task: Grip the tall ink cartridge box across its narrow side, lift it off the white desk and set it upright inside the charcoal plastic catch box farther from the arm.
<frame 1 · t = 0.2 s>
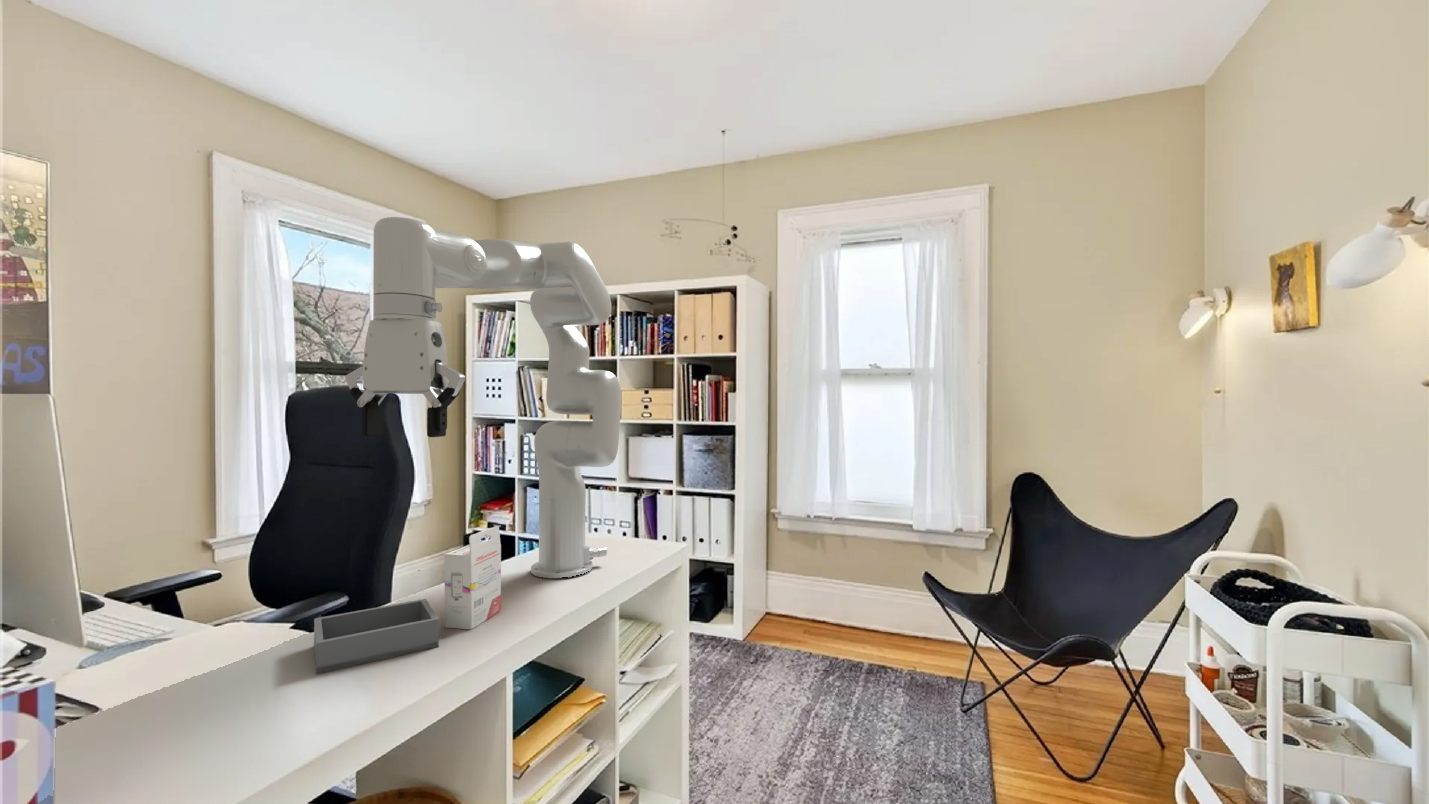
hand: (404, 436, 79), 31 cm above the table, tool pointing down, fingers open, 9 cm apart
catch box: (376, 646, 83), on the table
ink cartridge box: (473, 620, 94), on the table
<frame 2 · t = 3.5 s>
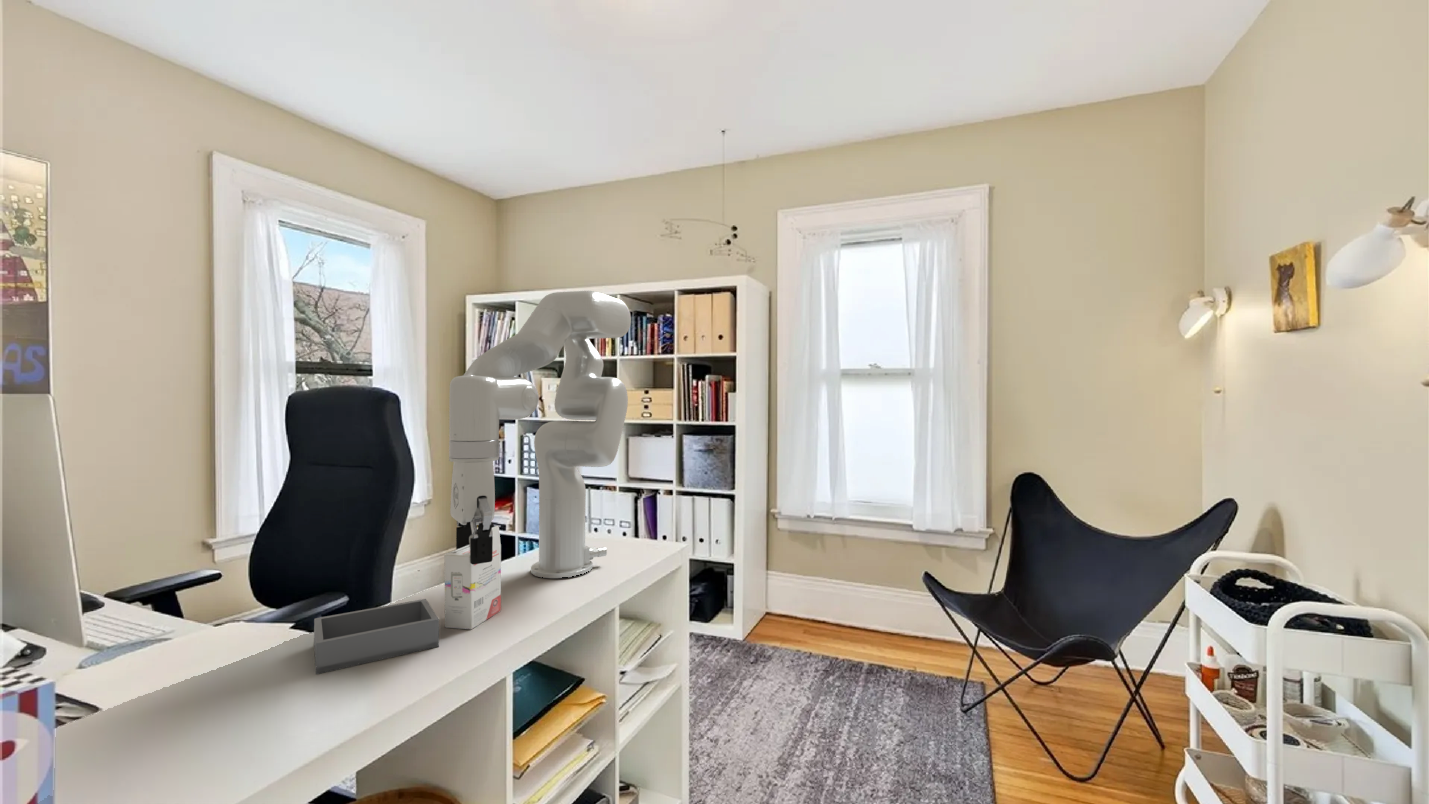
hand: (473, 556, 94), 10 cm above the table, tool pointing down, fingers open, 9 cm apart
ink cartridge box: (473, 620, 94), on the table, touching gripper
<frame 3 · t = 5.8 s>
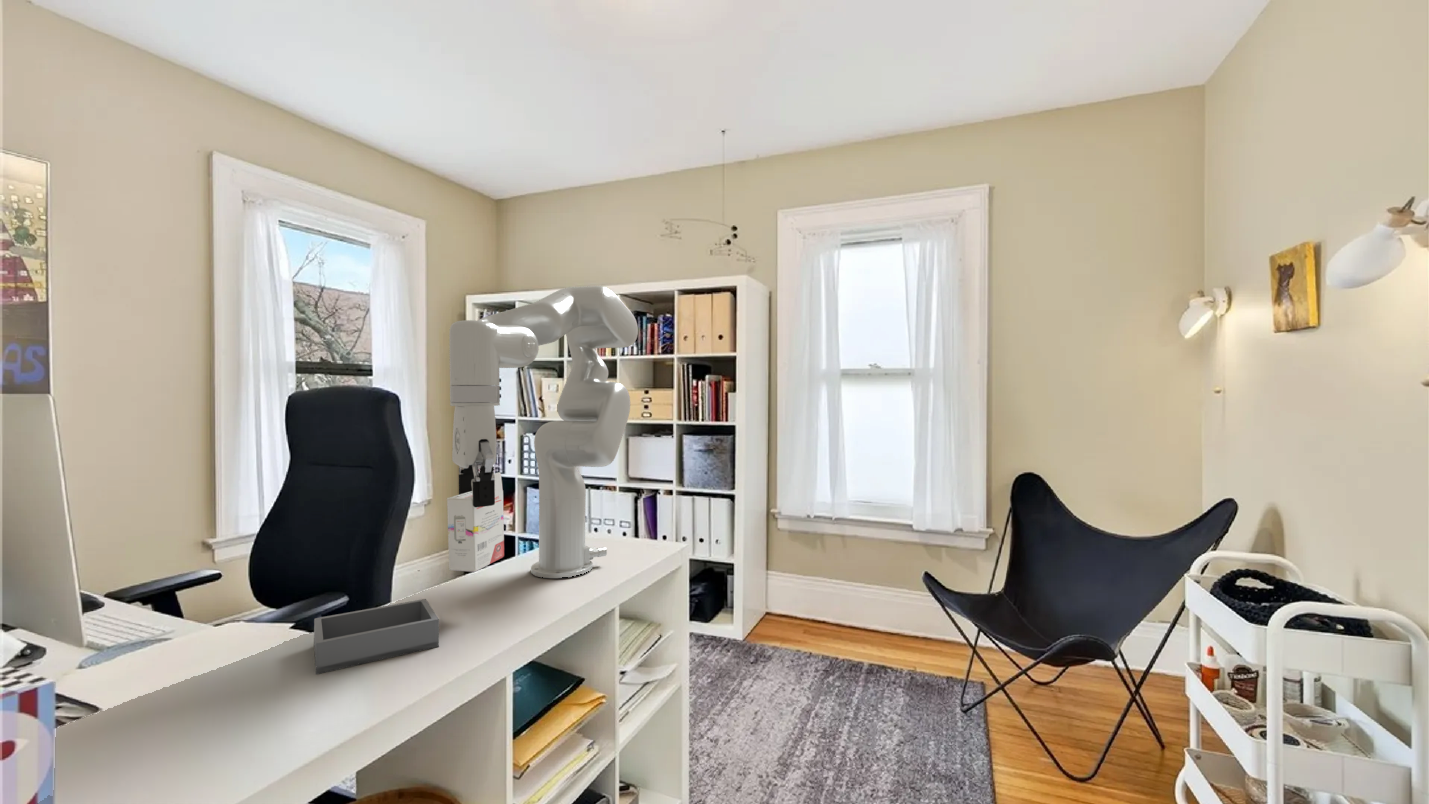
hand: (476, 501, 94), 19 cm above the table, tool pointing down, fingers closed on ink cartridge box, 9 cm apart
ink cartridge box: (477, 564, 94), point 9 cm above the table, touching gripper
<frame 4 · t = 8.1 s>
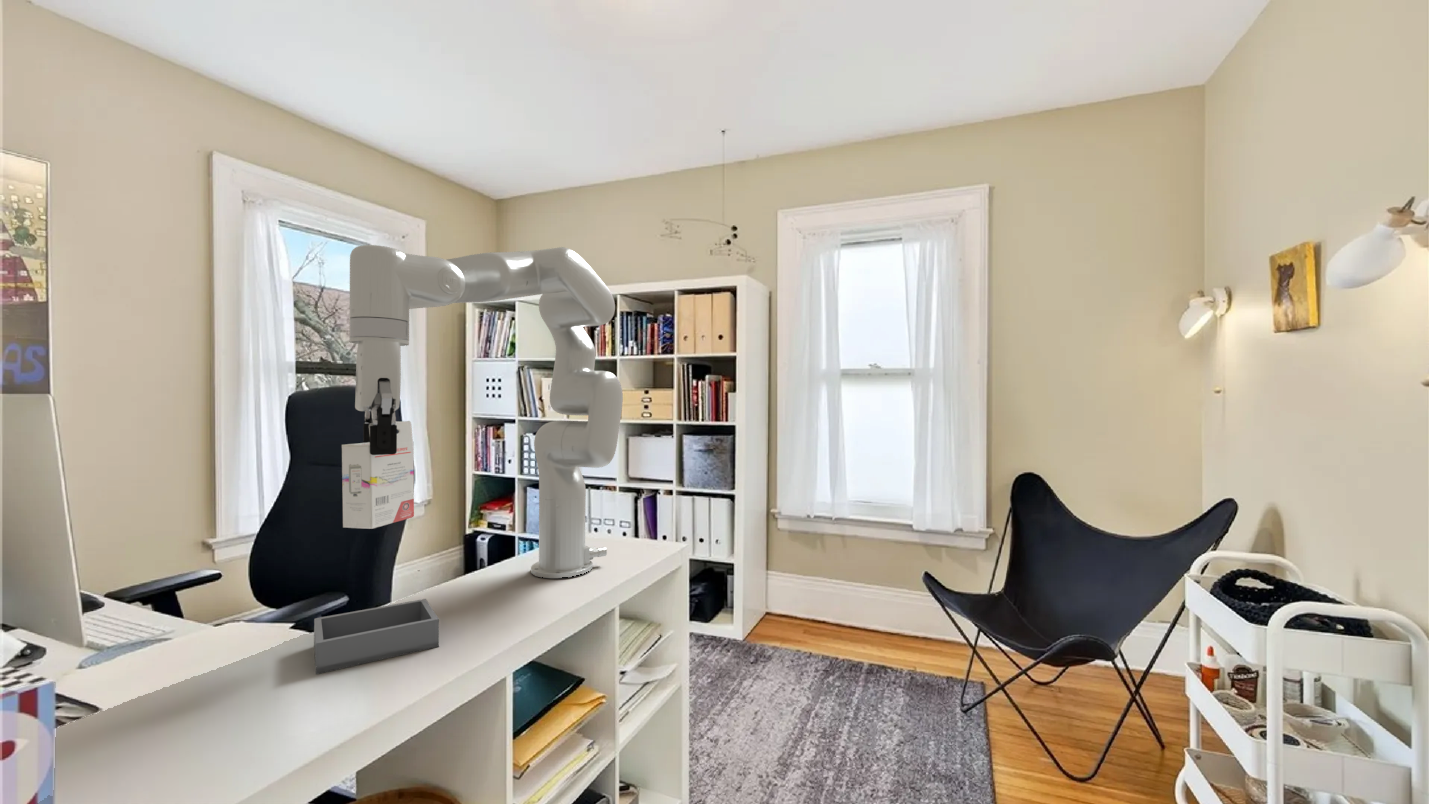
hand: (379, 451, 83), 28 cm above the table, tool pointing down, fingers closed on ink cartridge box, 9 cm apart
ink cartridge box: (379, 524, 83), point 18 cm above the table, touching gripper
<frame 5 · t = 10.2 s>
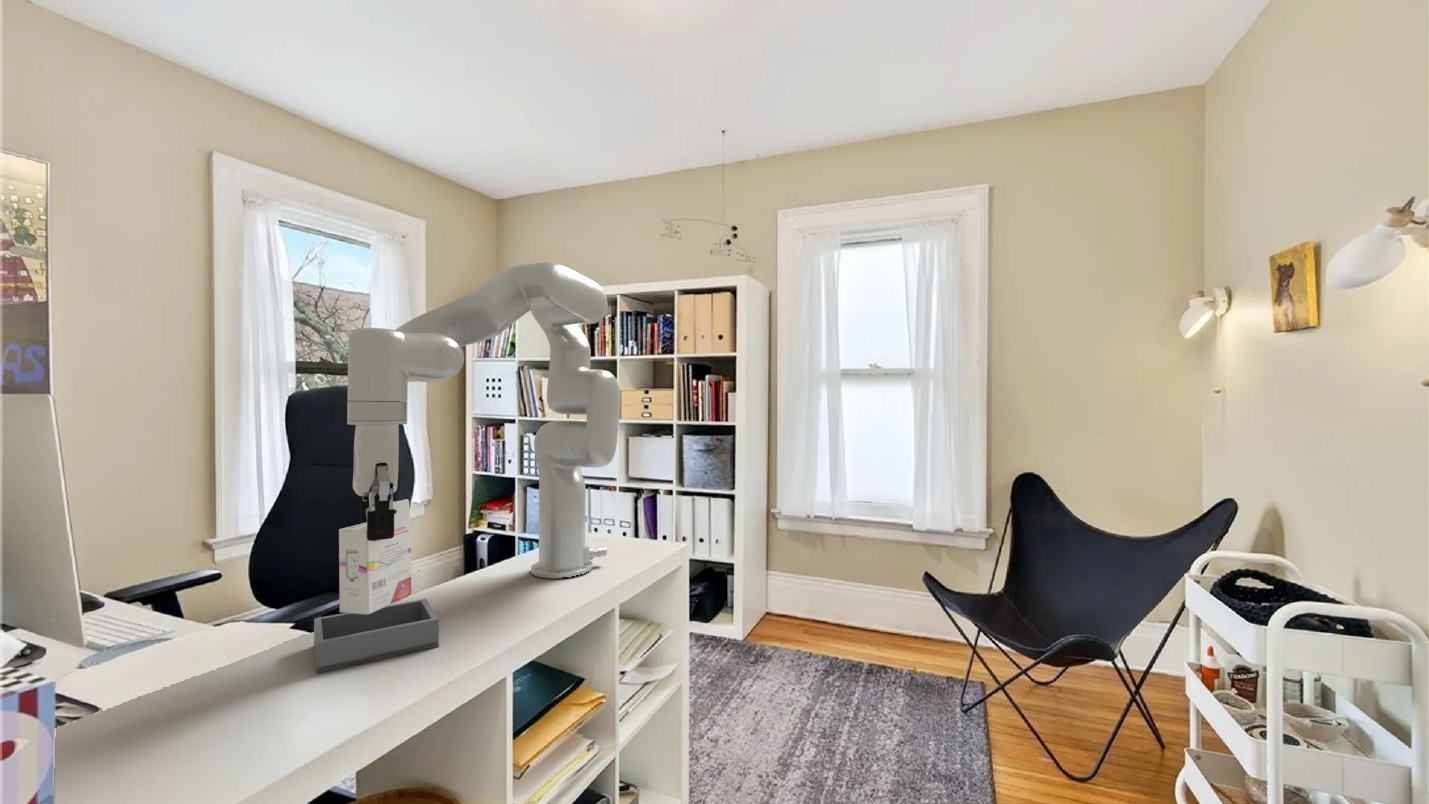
hand: (376, 532, 83), 16 cm above the table, tool pointing down, fingers closed on ink cartridge box, 9 cm apart
ink cartridge box: (376, 605, 83), point 6 cm above the table, touching gripper
when the fingers open (12 cm above the table, at t = 12.2 s): ink cartridge box drops 1 cm, resting on catch box.
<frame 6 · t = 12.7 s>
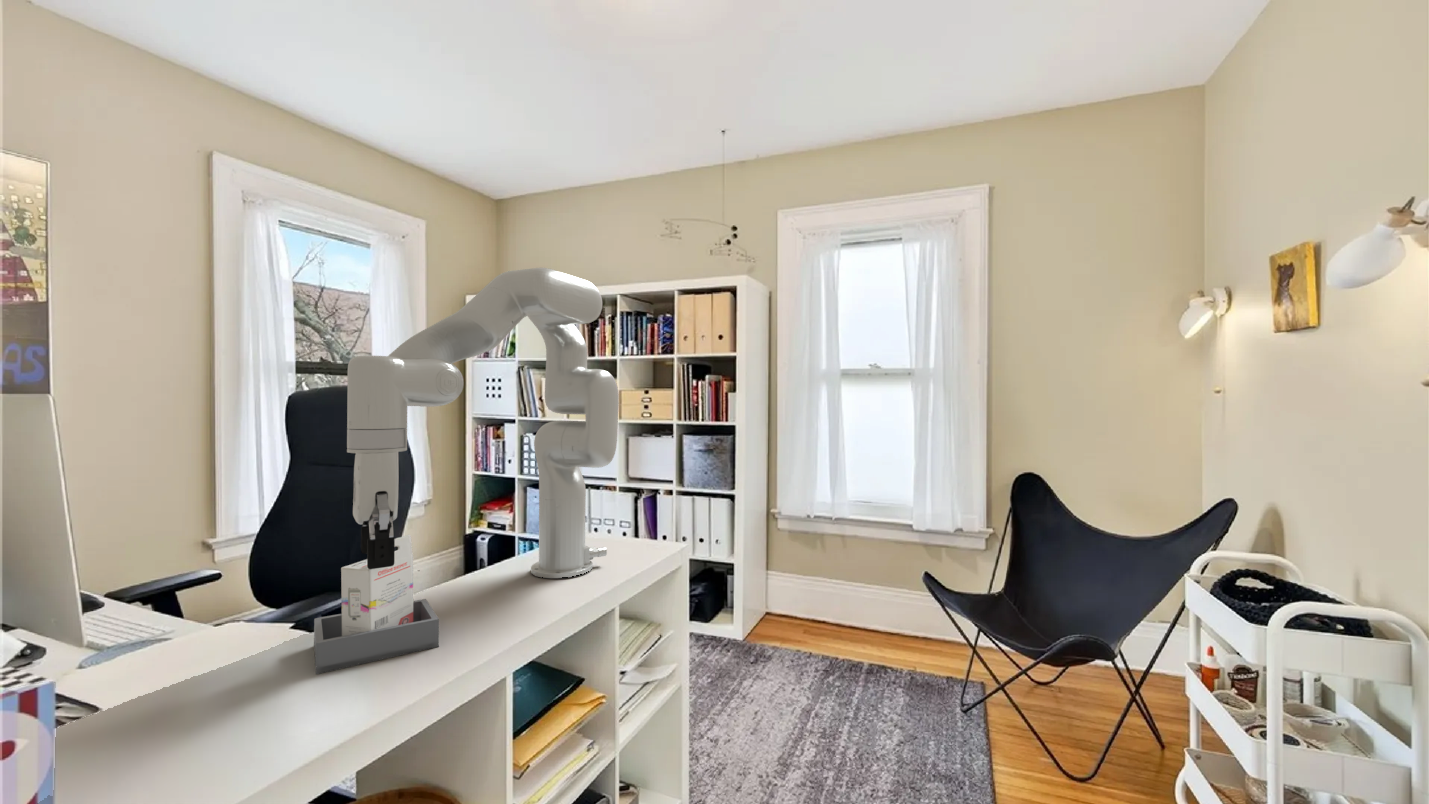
hand: (377, 559, 83), 13 cm above the table, tool pointing down, fingers open, 9 cm apart
ink cartridge box: (378, 641, 83), point 1 cm above the table, touching catch box
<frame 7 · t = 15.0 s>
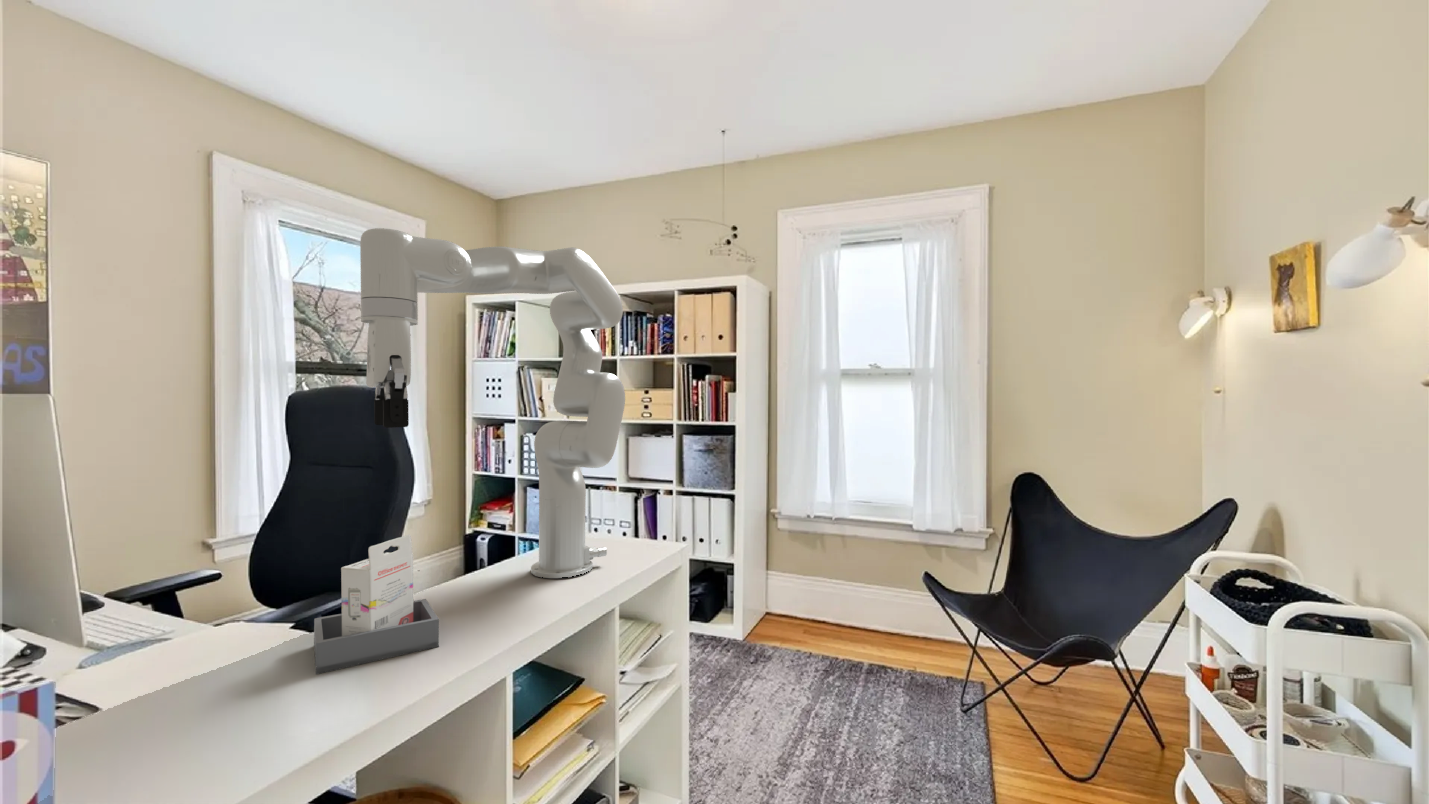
hand: (390, 425, 87), 32 cm above the table, tool pointing down, fingers open, 9 cm apart
nothing on the table moved.
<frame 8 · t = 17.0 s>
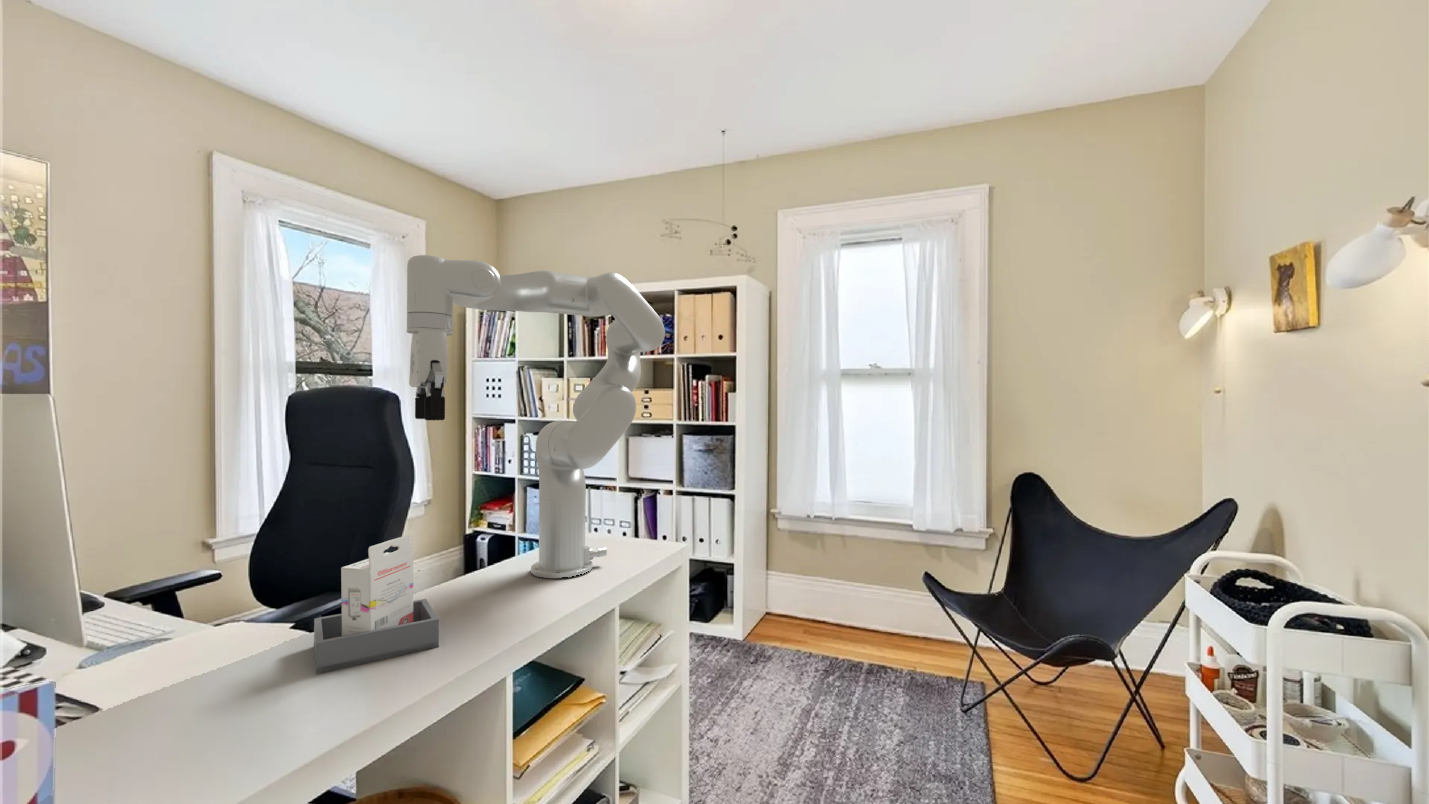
hand: (429, 419, 104), 32 cm above the table, tool pointing down, fingers open, 9 cm apart
nothing on the table moved.
at the end: ink cartridge box 0.2 cm off-centre on the catch box, point 0.6 cm above the catch box's base; ink cartridge box tilted 0°; the gripper is holding nothing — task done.
